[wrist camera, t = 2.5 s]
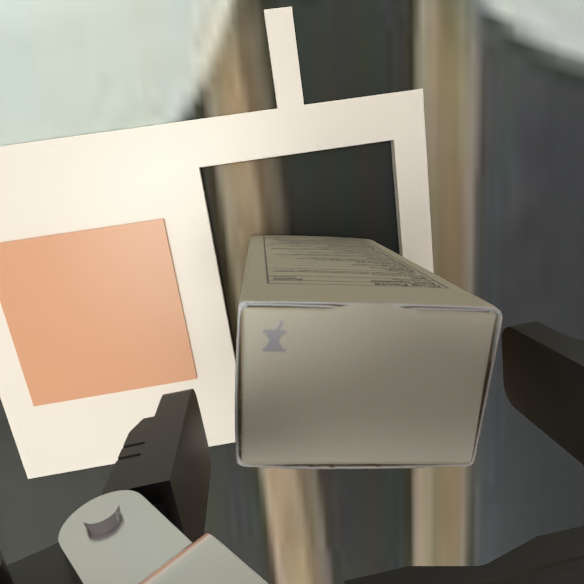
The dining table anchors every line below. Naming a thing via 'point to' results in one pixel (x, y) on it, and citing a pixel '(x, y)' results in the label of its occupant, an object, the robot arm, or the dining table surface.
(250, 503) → the dining table surface
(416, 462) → the skincare box
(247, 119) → the window card
